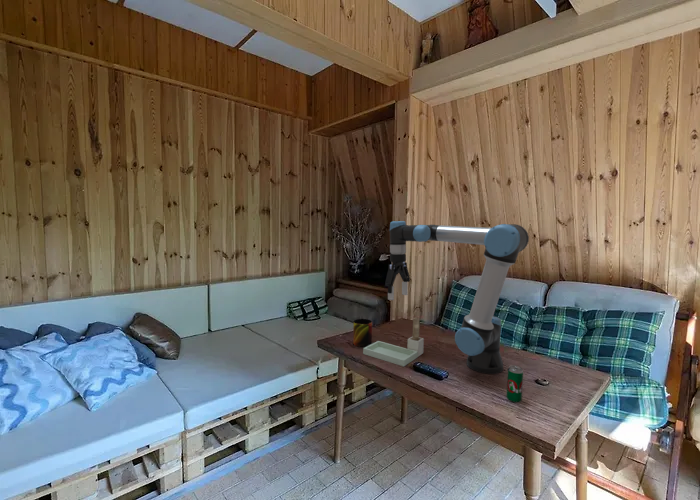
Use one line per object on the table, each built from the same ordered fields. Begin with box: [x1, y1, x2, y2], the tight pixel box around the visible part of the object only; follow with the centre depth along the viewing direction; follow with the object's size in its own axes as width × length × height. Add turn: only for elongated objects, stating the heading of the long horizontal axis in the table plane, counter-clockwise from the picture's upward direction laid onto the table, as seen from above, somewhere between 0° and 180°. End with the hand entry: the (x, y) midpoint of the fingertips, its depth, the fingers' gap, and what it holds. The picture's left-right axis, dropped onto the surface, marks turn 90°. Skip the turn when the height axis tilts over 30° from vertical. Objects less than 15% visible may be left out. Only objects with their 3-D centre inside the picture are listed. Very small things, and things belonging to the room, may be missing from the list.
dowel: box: [412, 317, 420, 341], centre depth 163 cm, size 3×3×17 cm
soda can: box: [505, 365, 524, 403], centre depth 124 cm, size 5×5×12 cm
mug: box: [352, 318, 373, 348], centre depth 179 cm, size 10×14×12 cm
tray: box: [362, 340, 419, 367], centre depth 161 cm, size 22×13×4 cm, turn 52°
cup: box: [406, 335, 425, 357], centre depth 164 cm, size 6×6×8 cm
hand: (398, 297), depth 165 cm, fingers open, 13 cm apart
